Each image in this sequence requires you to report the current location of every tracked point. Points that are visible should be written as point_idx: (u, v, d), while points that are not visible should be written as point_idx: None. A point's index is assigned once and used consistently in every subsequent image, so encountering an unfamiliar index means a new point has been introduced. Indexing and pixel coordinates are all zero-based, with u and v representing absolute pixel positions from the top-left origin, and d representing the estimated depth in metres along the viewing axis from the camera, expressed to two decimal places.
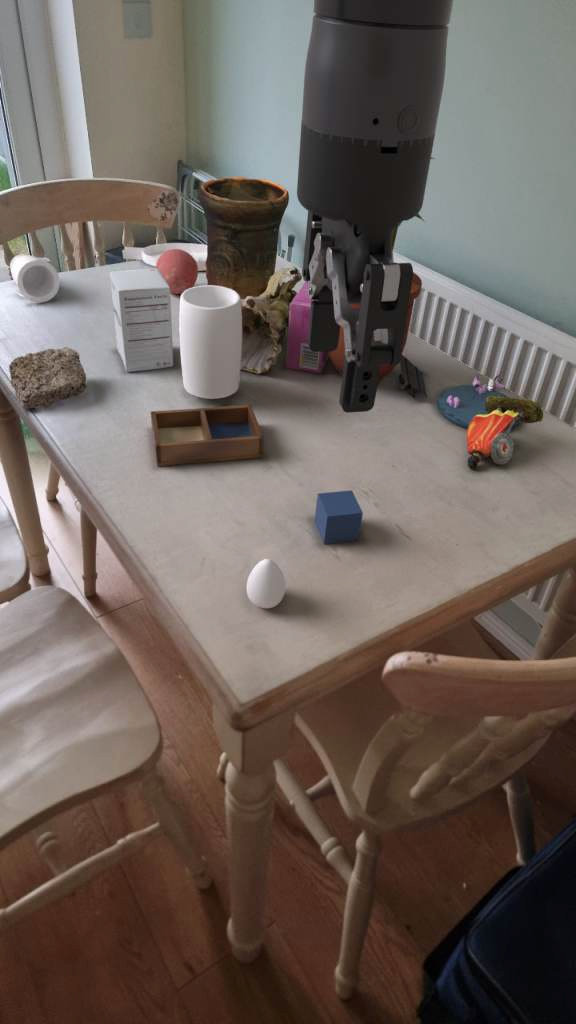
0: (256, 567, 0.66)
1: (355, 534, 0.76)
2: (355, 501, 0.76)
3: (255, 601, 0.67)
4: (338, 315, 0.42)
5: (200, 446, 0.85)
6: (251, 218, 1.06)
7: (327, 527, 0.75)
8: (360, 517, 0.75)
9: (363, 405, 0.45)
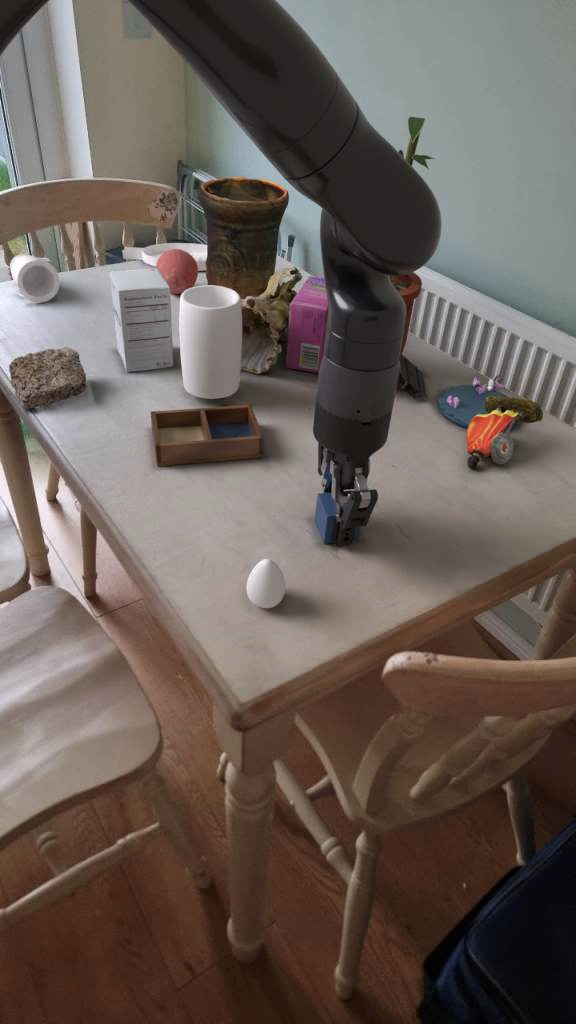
0: (256, 567, 0.66)
1: (355, 534, 0.76)
2: None
3: (255, 601, 0.67)
4: (333, 498, 0.72)
5: (200, 446, 0.85)
6: (251, 218, 1.06)
7: (327, 527, 0.75)
8: None
9: (346, 542, 0.75)
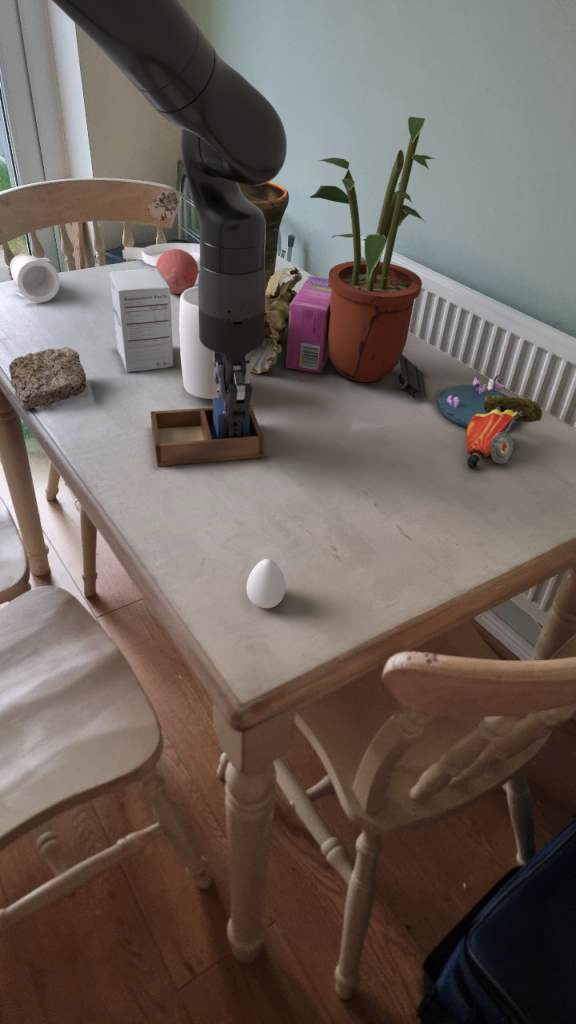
0: (256, 567, 0.66)
1: (246, 433, 0.87)
2: None
3: (255, 601, 0.67)
4: (220, 396, 0.83)
5: (200, 446, 0.85)
6: None
7: (219, 425, 0.86)
8: None
9: None
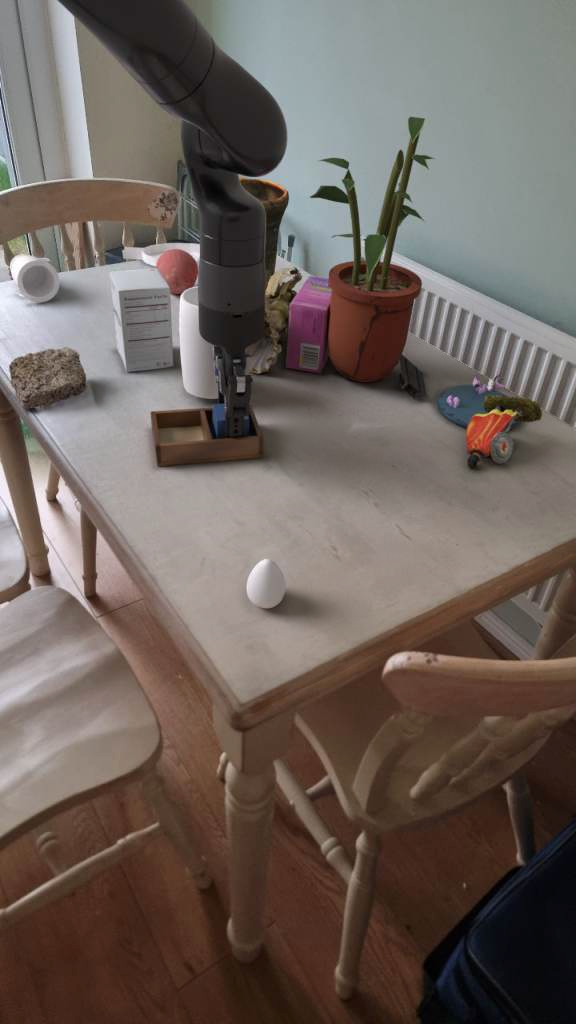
0: (256, 567, 0.66)
1: None
2: None
3: (255, 601, 0.67)
4: (220, 390, 0.82)
5: (200, 446, 0.85)
6: None
7: (218, 431, 0.86)
8: (247, 423, 0.86)
9: (236, 434, 0.85)
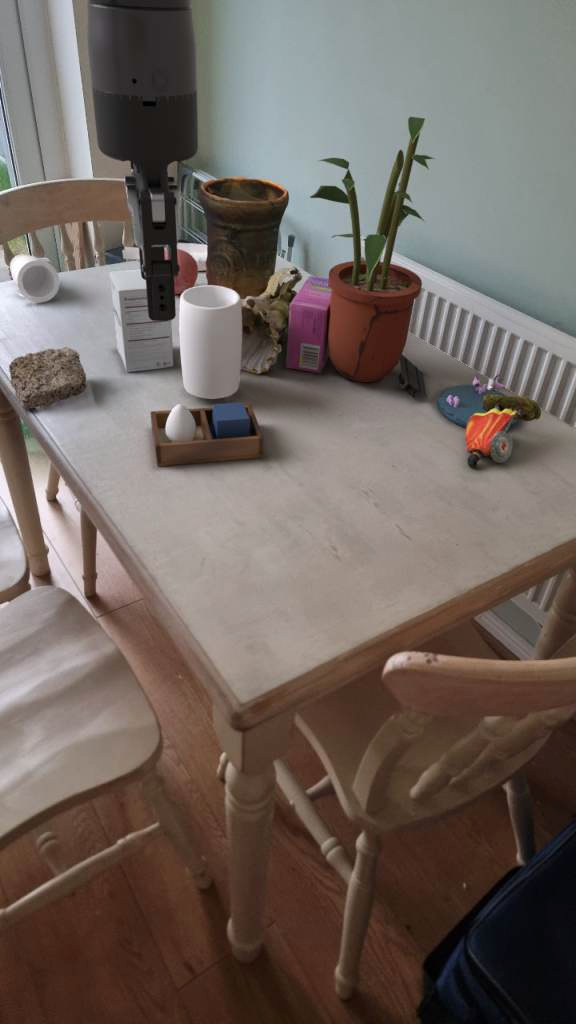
0: (171, 411, 0.85)
1: None
2: (244, 410, 0.87)
3: (171, 438, 0.86)
4: (134, 238, 0.53)
5: (200, 446, 0.85)
6: (251, 218, 1.06)
7: (218, 431, 0.86)
8: (247, 423, 0.86)
9: (164, 313, 0.56)
